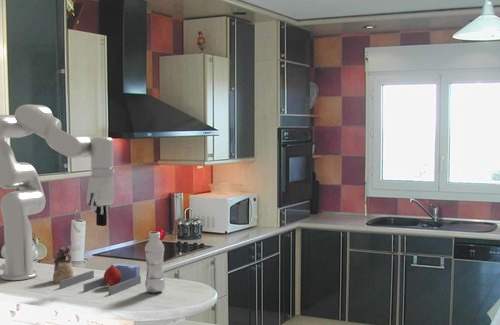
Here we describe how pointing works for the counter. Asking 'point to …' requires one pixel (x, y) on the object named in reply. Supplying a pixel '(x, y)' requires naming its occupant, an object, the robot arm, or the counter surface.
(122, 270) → the blue bracket
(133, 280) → the grey parallel strips
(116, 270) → the pomegranate
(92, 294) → the counter surface
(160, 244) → the plastic bottle
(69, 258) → the painted ceramic spouted vessel
